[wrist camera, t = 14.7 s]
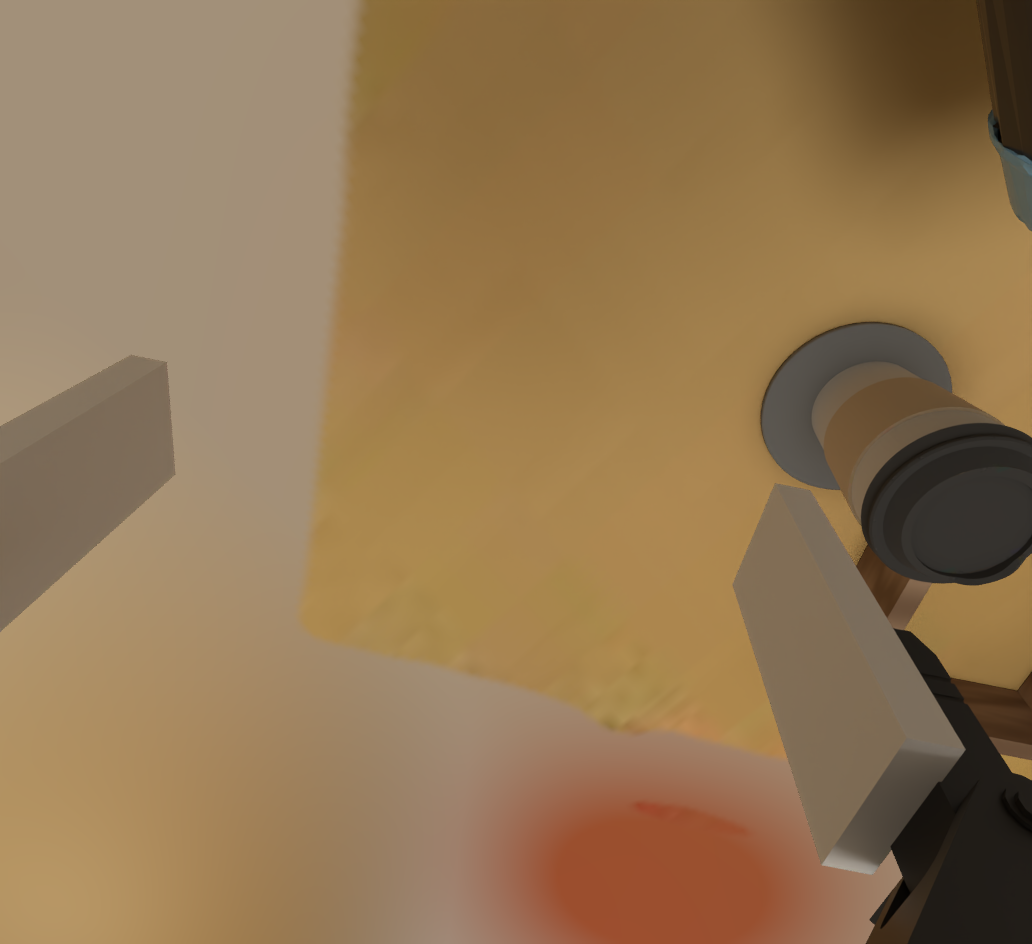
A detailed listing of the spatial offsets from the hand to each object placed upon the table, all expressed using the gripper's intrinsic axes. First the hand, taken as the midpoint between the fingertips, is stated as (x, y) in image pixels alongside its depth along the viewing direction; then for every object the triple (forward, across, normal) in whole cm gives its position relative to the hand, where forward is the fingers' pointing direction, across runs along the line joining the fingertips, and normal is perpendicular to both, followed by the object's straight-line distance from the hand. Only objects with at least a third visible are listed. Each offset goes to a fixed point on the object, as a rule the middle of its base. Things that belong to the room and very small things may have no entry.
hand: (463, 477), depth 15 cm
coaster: (+32, +23, -7) cm, 40 cm away
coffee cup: (+31, +24, -7) cm, 40 cm away
